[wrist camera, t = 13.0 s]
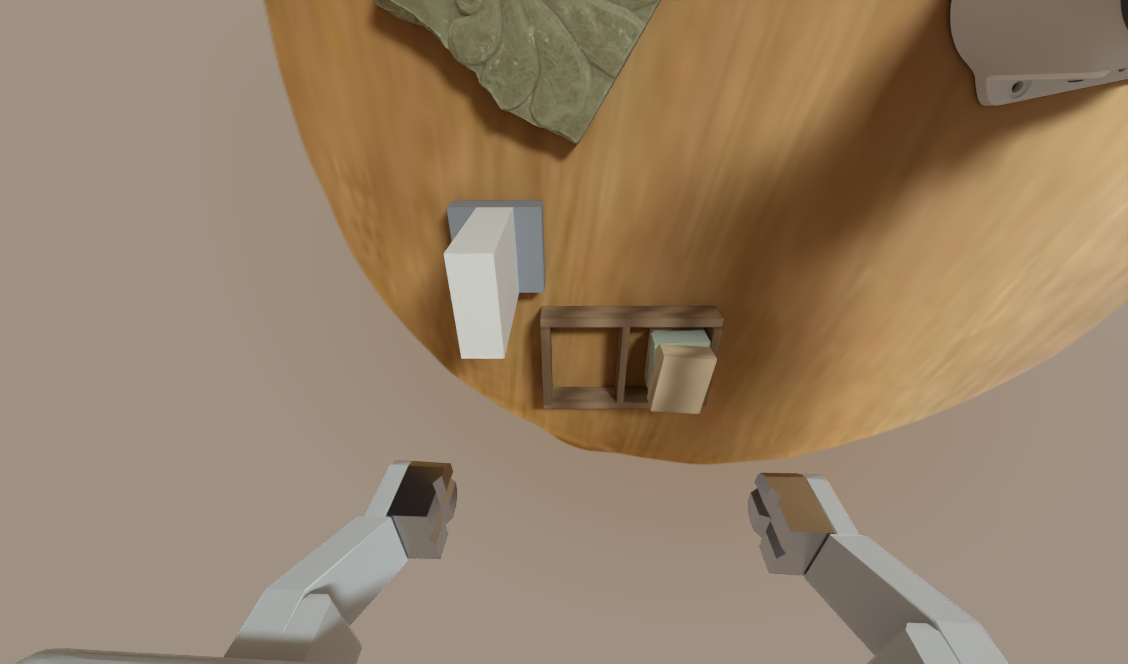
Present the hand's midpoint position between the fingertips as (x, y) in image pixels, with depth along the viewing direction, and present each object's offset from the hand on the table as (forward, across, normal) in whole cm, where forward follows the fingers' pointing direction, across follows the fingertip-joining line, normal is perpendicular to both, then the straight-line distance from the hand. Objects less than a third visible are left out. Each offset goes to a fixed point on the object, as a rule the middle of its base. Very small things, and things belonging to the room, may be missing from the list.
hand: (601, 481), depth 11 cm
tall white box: (+31, +9, +6) cm, 33 cm away
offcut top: (+30, -10, +20) cm, 37 cm away
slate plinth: (+34, +9, +6) cm, 36 cm away
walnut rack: (+34, -5, +20) cm, 40 cm away
